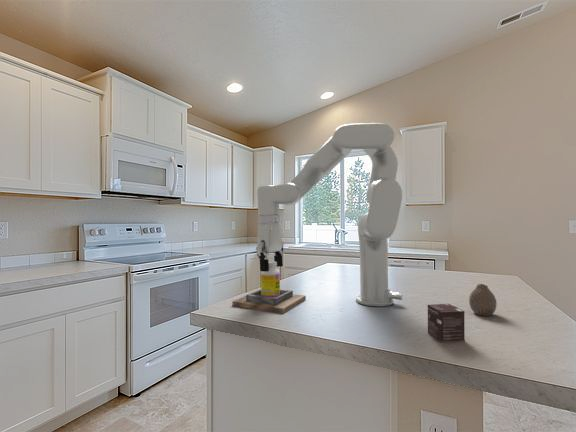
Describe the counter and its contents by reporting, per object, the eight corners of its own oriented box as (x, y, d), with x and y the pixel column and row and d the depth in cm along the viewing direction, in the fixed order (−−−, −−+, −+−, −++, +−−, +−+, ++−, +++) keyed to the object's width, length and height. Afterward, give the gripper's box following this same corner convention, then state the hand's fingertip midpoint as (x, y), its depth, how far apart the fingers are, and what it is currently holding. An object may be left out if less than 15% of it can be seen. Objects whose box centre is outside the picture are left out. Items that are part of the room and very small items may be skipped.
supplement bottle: (277, 301, 102) (277, 263, 102) (258, 300, 104) (258, 263, 104) (281, 296, 109) (281, 260, 109) (264, 295, 110) (263, 260, 110)
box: (427, 333, 76) (426, 304, 76) (449, 332, 77) (449, 303, 77) (441, 343, 70) (440, 311, 70) (465, 341, 71) (465, 310, 71)
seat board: (305, 299, 109) (305, 290, 109) (283, 313, 94) (283, 302, 94) (259, 294, 118) (259, 285, 118) (232, 305, 103) (232, 295, 103)
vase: (492, 311, 92) (491, 283, 92) (500, 318, 86) (499, 288, 86) (467, 309, 95) (466, 281, 95) (472, 316, 88) (472, 286, 88)
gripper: (272, 220, 116) (275, 264, 116) (246, 221, 100) (249, 272, 100) (289, 219, 112) (292, 264, 112) (265, 220, 97) (268, 273, 97)
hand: (272, 268), depth 106 cm, fingers open, 9 cm apart
